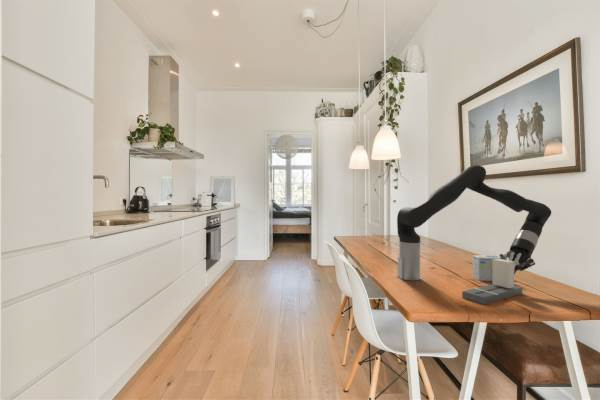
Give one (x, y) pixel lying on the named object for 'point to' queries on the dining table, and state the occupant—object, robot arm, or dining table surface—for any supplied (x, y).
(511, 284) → the cap
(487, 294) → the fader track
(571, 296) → the dining table surface
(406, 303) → the dining table surface
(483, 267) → the light bulb box
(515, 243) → the robot arm
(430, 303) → the dining table surface
